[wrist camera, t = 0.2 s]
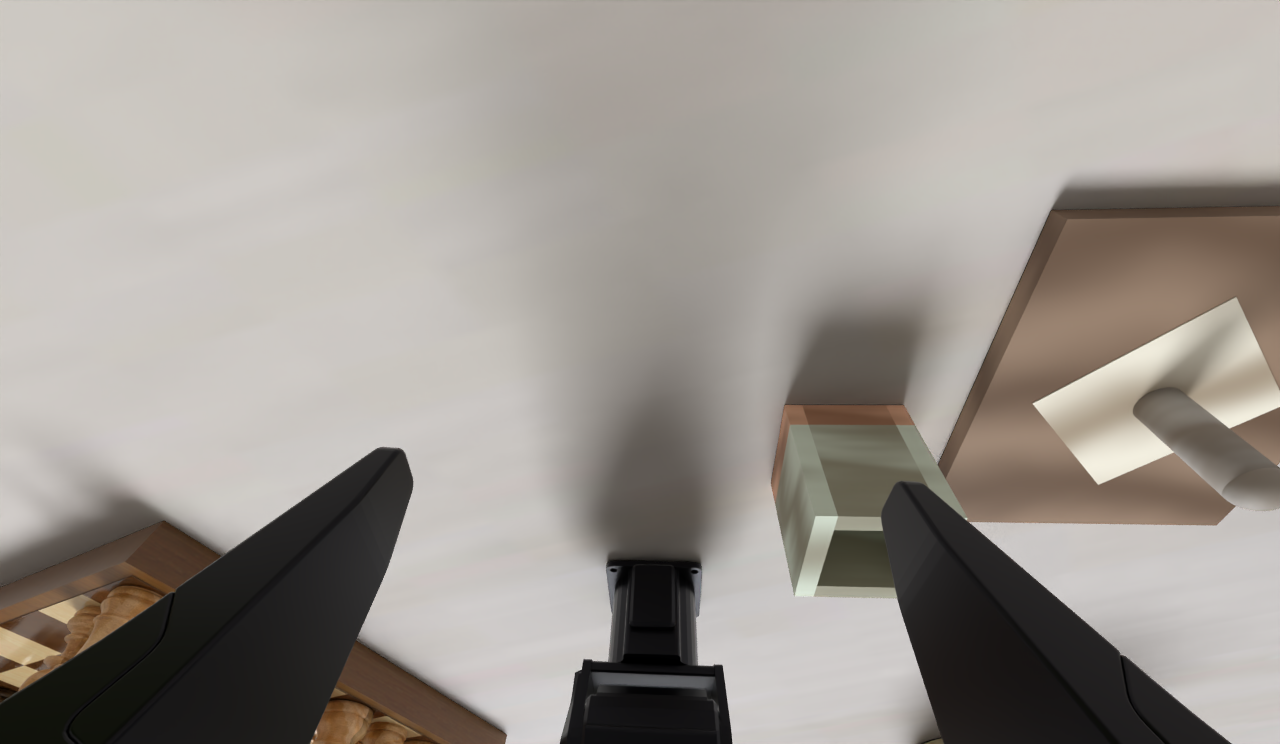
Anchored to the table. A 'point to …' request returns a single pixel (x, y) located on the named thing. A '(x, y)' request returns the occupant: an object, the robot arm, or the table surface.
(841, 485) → the sleeve
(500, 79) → the table surface
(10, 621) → the chess set
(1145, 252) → the pin board
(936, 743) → the plant pot
